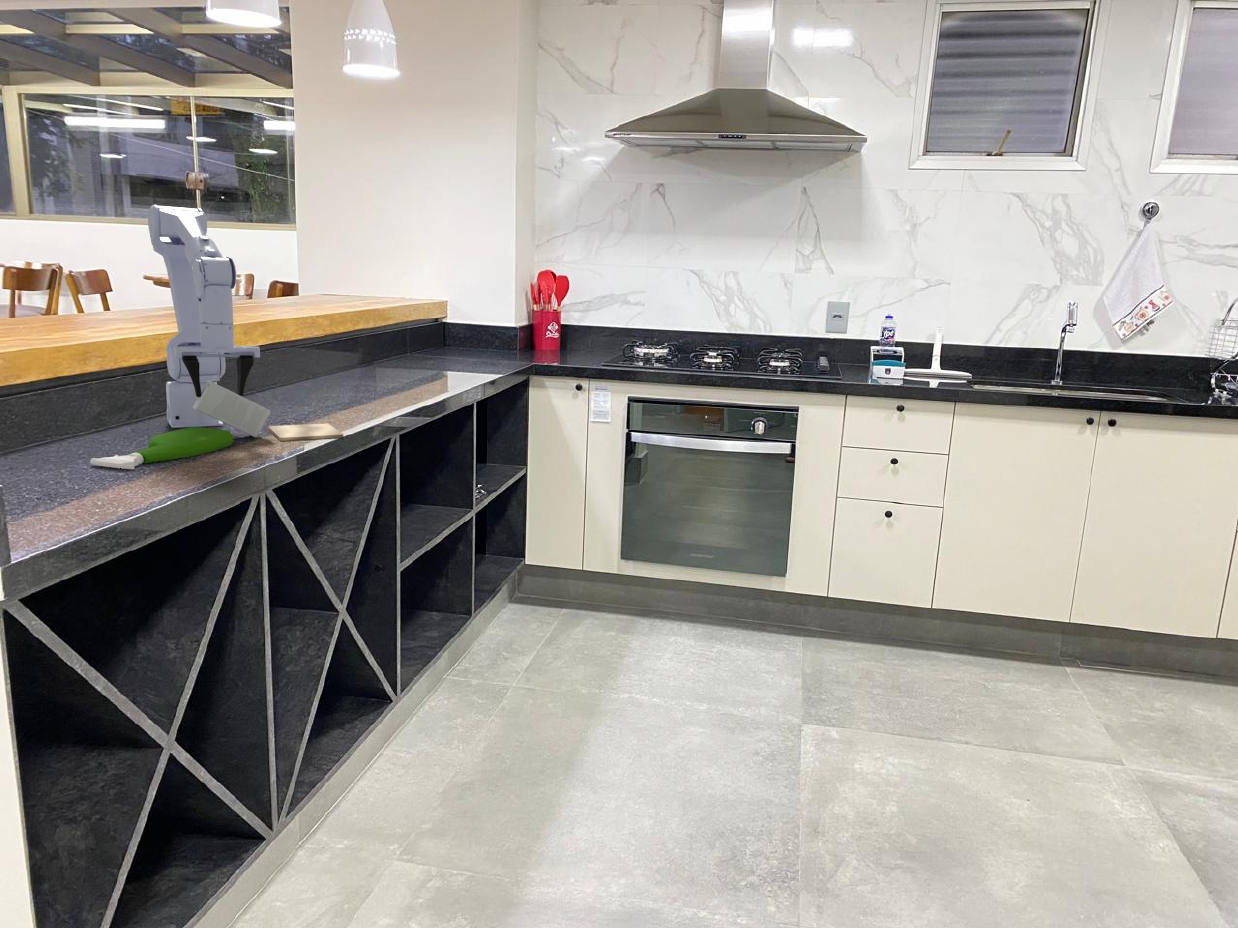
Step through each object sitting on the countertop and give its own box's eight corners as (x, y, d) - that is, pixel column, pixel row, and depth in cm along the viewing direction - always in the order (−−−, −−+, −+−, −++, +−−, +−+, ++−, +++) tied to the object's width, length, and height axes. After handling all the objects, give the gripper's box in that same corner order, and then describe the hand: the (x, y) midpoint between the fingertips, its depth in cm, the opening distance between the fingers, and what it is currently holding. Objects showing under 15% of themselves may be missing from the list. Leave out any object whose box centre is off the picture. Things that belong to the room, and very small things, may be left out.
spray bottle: (239, 446, 164) (139, 477, 141) (189, 440, 167) (82, 469, 144) (238, 431, 164) (138, 459, 140) (188, 425, 166) (81, 452, 143)
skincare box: (266, 408, 174) (207, 379, 167) (271, 411, 170) (212, 380, 163) (251, 436, 173) (191, 407, 166) (256, 438, 169) (195, 409, 162)
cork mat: (280, 440, 169) (280, 437, 169) (267, 429, 179) (267, 426, 179) (343, 437, 175) (343, 434, 175) (328, 426, 185) (328, 423, 185)
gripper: (175, 324, 157) (179, 400, 160) (262, 325, 164) (264, 397, 167) (171, 321, 163) (175, 394, 166) (255, 322, 170) (257, 392, 173)
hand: (219, 395), depth 167 cm, fingers closed on skincare box, 7 cm apart
